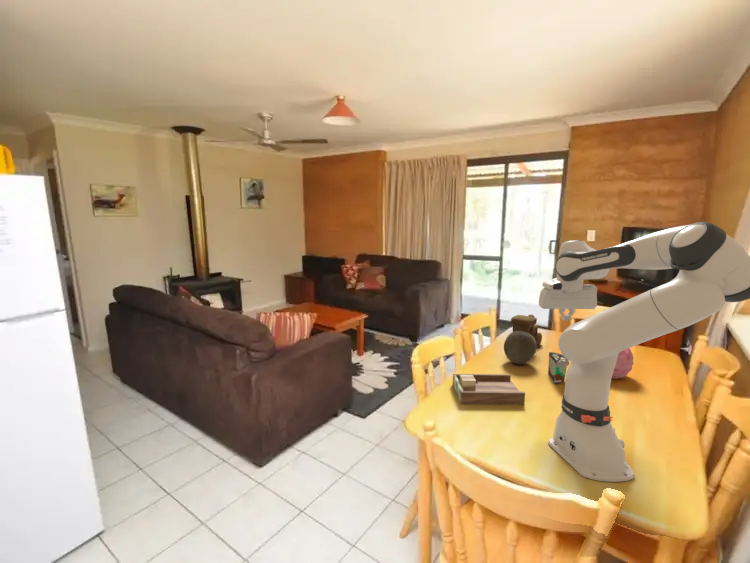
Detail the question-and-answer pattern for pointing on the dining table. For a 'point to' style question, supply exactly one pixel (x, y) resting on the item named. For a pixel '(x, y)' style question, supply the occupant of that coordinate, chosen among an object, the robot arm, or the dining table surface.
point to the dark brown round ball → (520, 347)
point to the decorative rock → (623, 364)
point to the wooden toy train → (527, 326)
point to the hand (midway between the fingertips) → (565, 320)
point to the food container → (557, 367)
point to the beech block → (467, 382)
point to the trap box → (489, 390)
